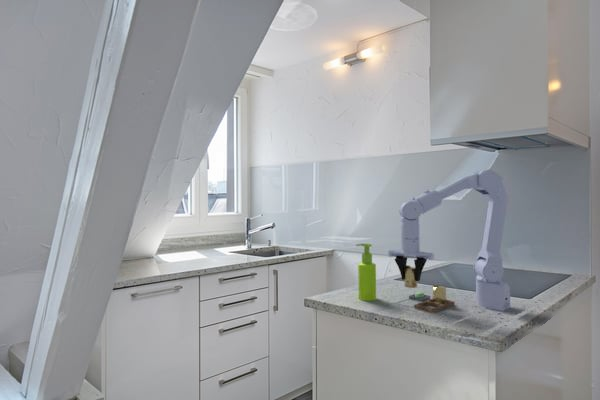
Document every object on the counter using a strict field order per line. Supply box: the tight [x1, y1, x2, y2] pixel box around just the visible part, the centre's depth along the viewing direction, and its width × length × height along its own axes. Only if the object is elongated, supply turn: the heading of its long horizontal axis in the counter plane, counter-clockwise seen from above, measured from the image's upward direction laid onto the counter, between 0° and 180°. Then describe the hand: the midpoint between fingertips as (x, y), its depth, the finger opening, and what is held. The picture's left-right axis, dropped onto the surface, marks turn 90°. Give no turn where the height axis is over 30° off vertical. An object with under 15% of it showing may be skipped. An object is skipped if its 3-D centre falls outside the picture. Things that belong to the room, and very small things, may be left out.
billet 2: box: [432, 283, 447, 304], centre depth 126 cm, size 4×4×7 cm
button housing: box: [408, 293, 431, 303], centre depth 134 cm, size 5×5×2 cm
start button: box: [414, 291, 425, 298], centre depth 134 cm, size 3×3×3 cm
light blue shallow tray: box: [393, 298, 421, 308], centre depth 128 cm, size 7×8×1 cm
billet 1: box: [404, 264, 418, 289], centre depth 128 cm, size 4×4×7 cm
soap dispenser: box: [355, 243, 377, 302], centre depth 135 cm, size 6×7×20 cm
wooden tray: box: [413, 298, 455, 314], centre depth 124 cm, size 8×13×2 cm, turn 131°
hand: (410, 280), depth 128 cm, fingers closed on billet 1, 4 cm apart
